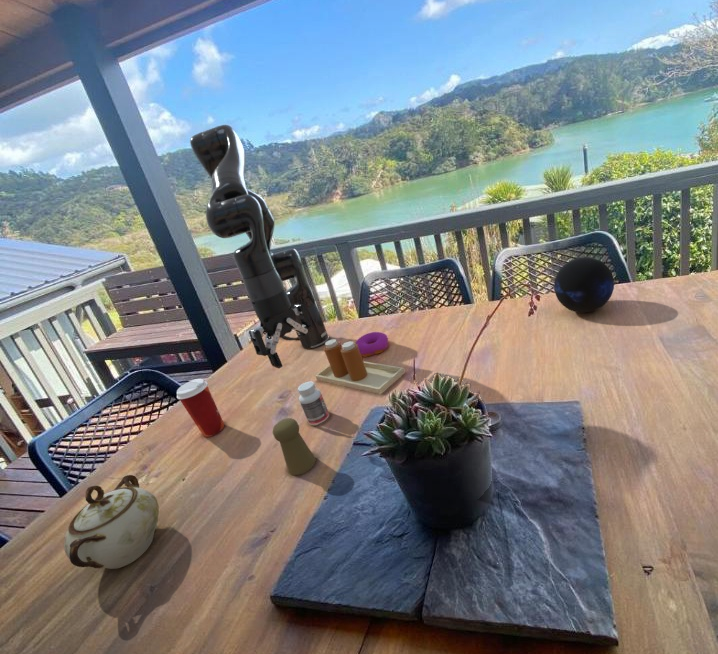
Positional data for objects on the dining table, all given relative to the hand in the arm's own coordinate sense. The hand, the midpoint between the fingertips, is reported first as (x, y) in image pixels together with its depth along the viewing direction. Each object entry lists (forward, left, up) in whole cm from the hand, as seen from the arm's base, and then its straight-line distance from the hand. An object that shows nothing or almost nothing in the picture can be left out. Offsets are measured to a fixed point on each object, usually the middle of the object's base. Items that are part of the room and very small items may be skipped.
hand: (293, 357), depth 99 cm
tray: (-3, +18, -18) cm, 25 cm away
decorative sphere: (+43, +65, -18) cm, 80 cm away
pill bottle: (0, 0, -18) cm, 18 cm away
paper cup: (-28, -14, -18) cm, 36 cm away
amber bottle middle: (-3, +18, -17) cm, 25 cm away
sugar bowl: (-7, -43, -18) cm, 47 cm away
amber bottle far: (-10, +18, -17) cm, 27 cm away
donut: (-10, +32, -18) cm, 38 cm away
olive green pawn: (+9, -13, -18) cm, 24 cm away
